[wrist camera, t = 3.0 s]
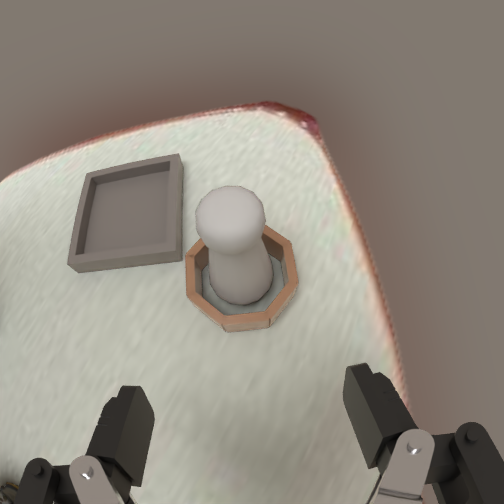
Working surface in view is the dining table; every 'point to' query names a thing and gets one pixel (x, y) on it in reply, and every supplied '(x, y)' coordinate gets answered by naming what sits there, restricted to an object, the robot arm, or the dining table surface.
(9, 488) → the apothecary jar
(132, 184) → the tray
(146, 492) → the dining table surface
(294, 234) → the dining table surface
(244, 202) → the salt shaker
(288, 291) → the cup ring
